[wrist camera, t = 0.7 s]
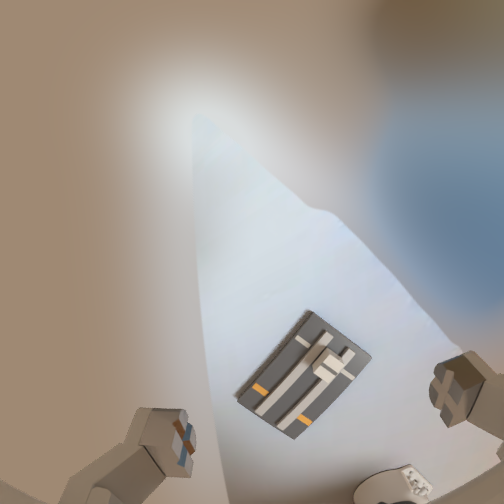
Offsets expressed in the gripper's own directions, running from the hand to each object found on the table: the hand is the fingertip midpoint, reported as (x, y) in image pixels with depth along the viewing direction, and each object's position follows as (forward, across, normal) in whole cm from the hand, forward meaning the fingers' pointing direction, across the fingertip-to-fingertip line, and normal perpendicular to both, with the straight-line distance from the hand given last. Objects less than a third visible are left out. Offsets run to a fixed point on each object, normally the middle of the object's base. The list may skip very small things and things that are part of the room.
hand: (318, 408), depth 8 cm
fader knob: (+34, +8, -26) cm, 44 cm away
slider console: (+35, +4, -31) cm, 47 cm away
